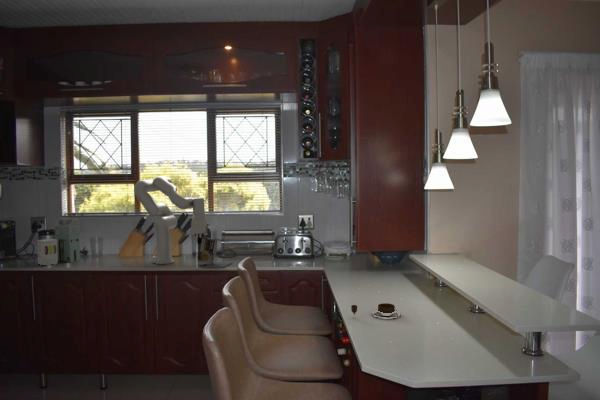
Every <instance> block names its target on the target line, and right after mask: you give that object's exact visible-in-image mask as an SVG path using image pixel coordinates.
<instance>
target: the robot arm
mask: <svg viewBox="0 0 600 400" xmlns="http://www.w3.org/2000/svg"><path fill="white" fill-rule="evenodd" d="M133 190H134V191H133V192H134V195H135V197H136V199H137V200H138V201H139V202H140V203H141V205H142V206H143V208H144V210H145V211H146V212H147V214H148V215H149V217H151V218H157V219H155V220H154V221H155V222H154V228H155V234H156V256H155V255H152V260H155V261H154V264H155V265H167V264H172V263H175V260H174V259H172V234H171V232H170V231H171V230H173V229H174V228H176V227H177V226H178V219H177V217H176V216H175V214H174V213H173V211H172V210H171V209H170V207H169V206H168V205H167V204H165V203H163V202H161V203H160V202H159V203H158V202H157V201H156V200H155V198H154V197H153V196H152V195H151V194H150V193H151V192H153V193H154V192H158V191H159V192H161V193H162V194H164V195H165V196H166V197H167V198H168V199H169V201H170V202H171V203H172V204H173V205H174V206H176V207H177V208H179V209H180V210H188V209H192V214H190V215H191V217H192V219H191V225H190V232H191V235H192V236H195V237H196V241H197V242H196V243H197V244H198V245H201V242H202V238H204V237H205V236H206V235H208V222H207V219H206V215H205V213H206V212H205V199H204V197H191V196H190V197H183V196H181V195H180V194H178V192H177V191H178V187H177V186H176V185H175V184H173V182H172V179H171V178H170V177H168V176H163V175H160V176H159V175H158V176H155V177H154V178H153V179H141V180H138V181H137V182H136V183H135V184H134V189H133Z"/></svg>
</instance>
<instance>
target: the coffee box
mask: <svg viewBox="0 0 600 400" xmlns="http://www.w3.org/2000/svg"><path fill="white" fill-rule="evenodd" d="M217 244H218V239H215V238H211V237H207V236H206V237H205V236H203V238H202V242H201V244H200V249H199V254H198V257H197V258H198V259H197V263H202V264H207V265H209V264H210V265H211V264H212V263H214V260H215V255H216V249H217Z"/></svg>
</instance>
